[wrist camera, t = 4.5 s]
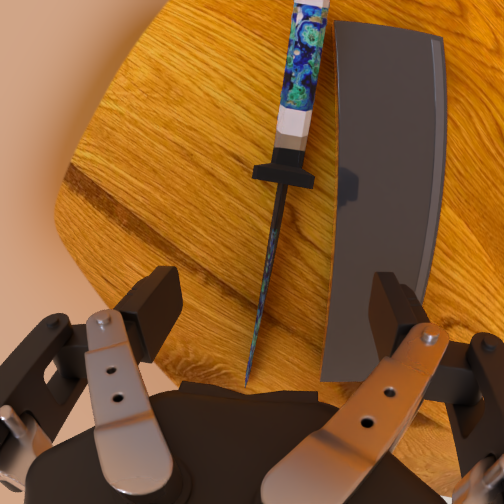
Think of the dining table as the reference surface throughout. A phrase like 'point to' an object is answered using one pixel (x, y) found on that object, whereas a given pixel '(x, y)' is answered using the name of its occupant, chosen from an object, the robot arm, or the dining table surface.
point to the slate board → (381, 179)
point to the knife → (292, 125)
